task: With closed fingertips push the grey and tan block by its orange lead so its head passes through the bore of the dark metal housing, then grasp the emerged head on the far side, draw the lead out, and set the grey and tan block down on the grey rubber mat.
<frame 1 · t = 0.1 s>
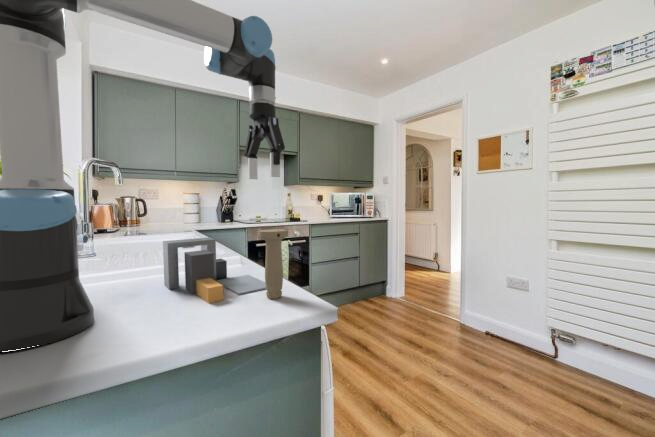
hand: (263, 178, 89), 28 cm above the countertop, fingers open, 13 cm apart
mat: (244, 284, 77), on the countertop
handle: (274, 298, 67), on the countertop
grey and tan block: (199, 289, 72), on the countertop
housing: (191, 283, 78), on the countertop
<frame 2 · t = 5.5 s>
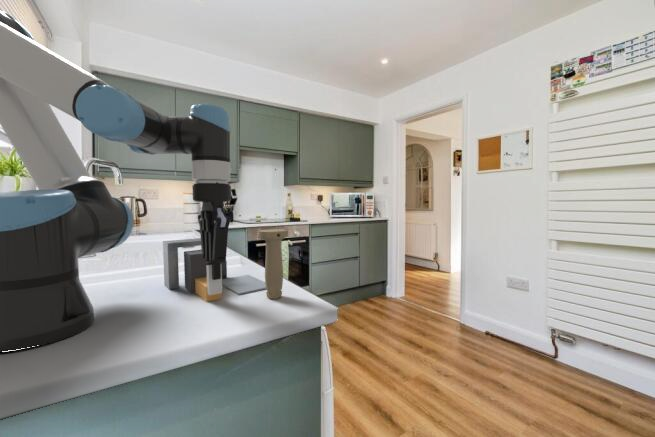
hand: (214, 293, 64), 2 cm above the countertop, fingers closed
grey and tan block: (198, 288, 73), on the countertop, touching gripper
everything else where it was.
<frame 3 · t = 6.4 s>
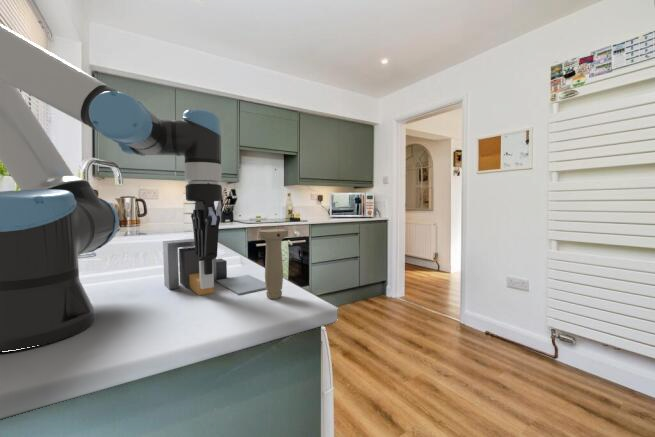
hand: (206, 287, 69), 2 cm above the countertop, fingers closed
grey and tan block: (193, 283, 78), on the countertop, touching gripper
everything else where it was.
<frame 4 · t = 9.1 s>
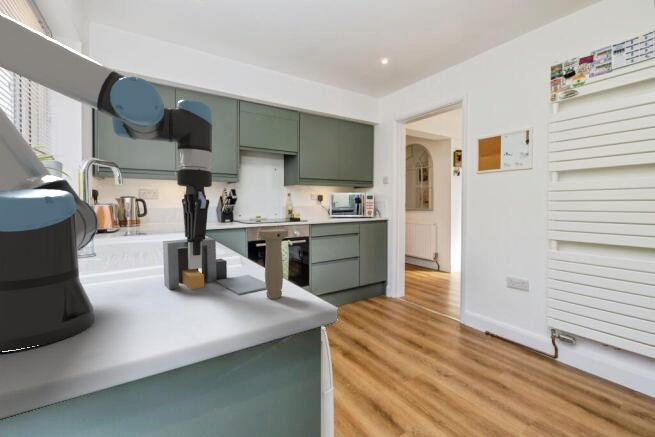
hand: (194, 268, 73), 5 cm above the countertop, fingers closed
grey and tan block: (186, 278, 82), on the countertop
everything else where it was.
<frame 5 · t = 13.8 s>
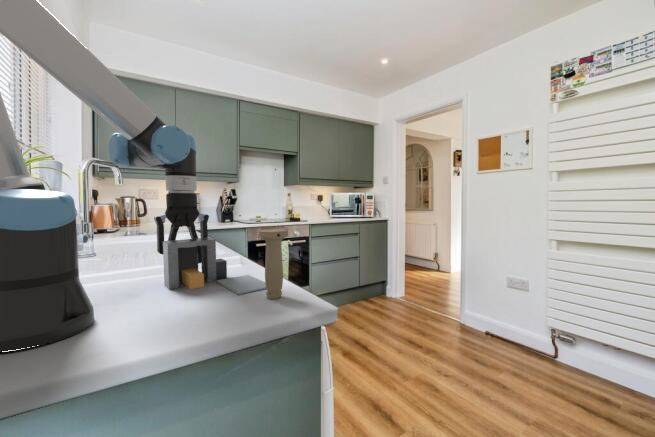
hand: (184, 276, 83), 0 cm above the countertop, fingers closed on grey and tan block, 5 cm apart
grey and tan block: (185, 278, 82), on the countertop, touching gripper
everything else where it was.
when the fingers open (2 cm above the countertop, at t = 22.5 s): grey and tan block stays where it is, resting on mat.
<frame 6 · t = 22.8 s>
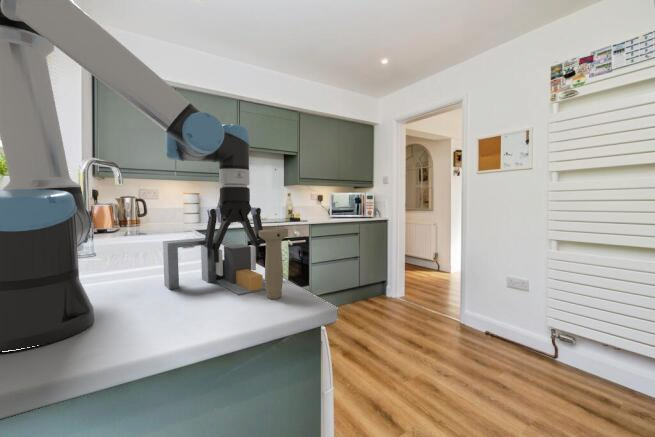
hand: (236, 271, 80), 2 cm above the countertop, fingers open, 8 cm apart
grey and tan block: (237, 280, 79), resting on mat
everything else where it was.
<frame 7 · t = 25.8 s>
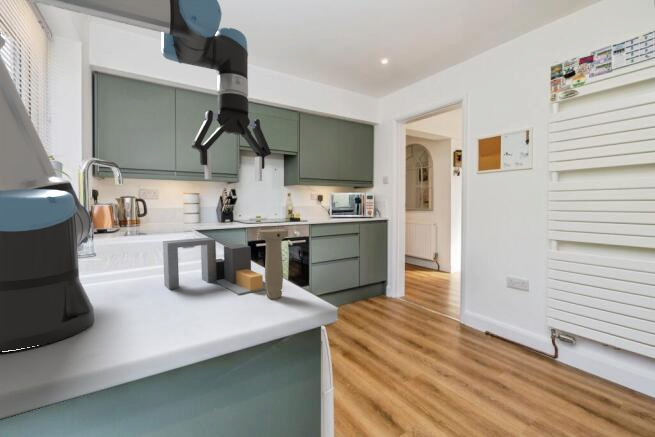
hand: (234, 180, 78), 27 cm above the countertop, fingers open, 13 cm apart
nothing on the countertop moved.
at the end: grey and tan block inside the target area (3.0 cm from its centre), resting on mat; grey and tan block tilted 0°; the gripper is holding nothing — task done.
